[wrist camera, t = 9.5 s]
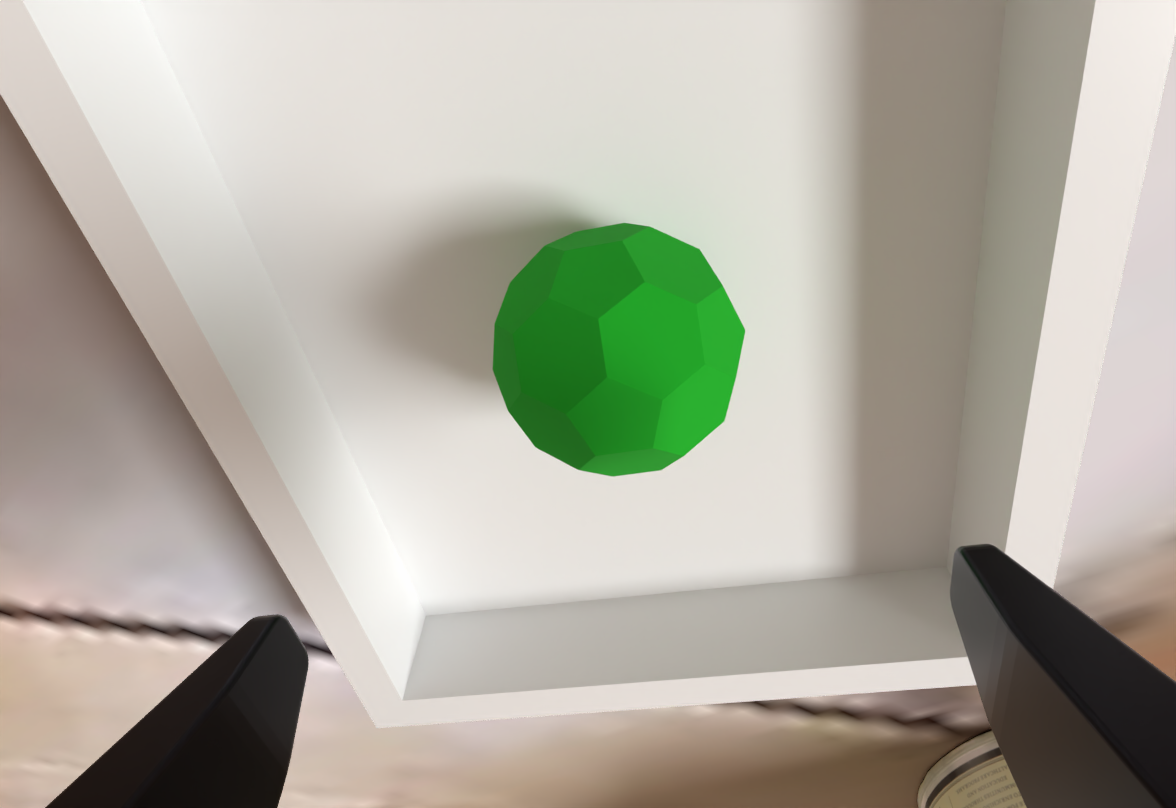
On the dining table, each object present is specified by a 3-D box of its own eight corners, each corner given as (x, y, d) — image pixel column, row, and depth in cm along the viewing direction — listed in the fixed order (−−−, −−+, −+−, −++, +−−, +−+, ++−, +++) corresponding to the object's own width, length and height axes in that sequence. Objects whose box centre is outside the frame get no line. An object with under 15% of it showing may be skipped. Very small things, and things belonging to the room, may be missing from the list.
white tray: (1119, -519, 11) (1338, -702, 7) (974, 565, 23) (1032, 680, 19) (10, -204, 13) (-195, -236, 10) (409, 618, 25) (376, 728, 22)
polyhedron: (718, 170, 15) (748, 267, 11) (740, 371, 18) (771, 506, 14) (484, 214, 16) (437, 320, 12) (539, 401, 19) (514, 537, 15)
